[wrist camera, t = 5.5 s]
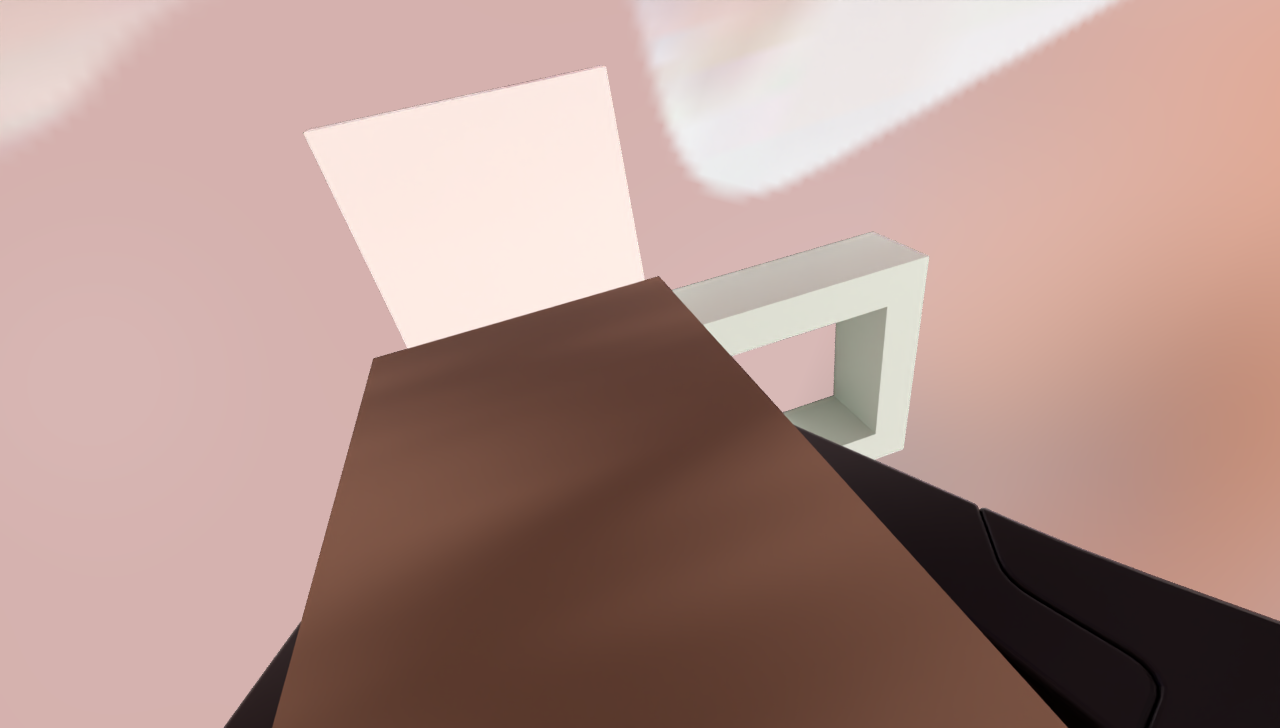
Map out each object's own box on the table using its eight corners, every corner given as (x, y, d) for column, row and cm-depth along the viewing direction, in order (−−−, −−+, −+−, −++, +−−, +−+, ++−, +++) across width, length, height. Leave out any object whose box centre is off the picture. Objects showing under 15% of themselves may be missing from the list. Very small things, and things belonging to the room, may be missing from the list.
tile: (599, 65, 15) (605, 66, 15) (645, 310, 20) (651, 319, 19) (310, 129, 14) (302, 132, 13) (427, 374, 18) (425, 387, 18)
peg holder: (872, 231, 21) (929, 255, 18) (860, 410, 26) (903, 449, 23) (655, 294, 19) (684, 330, 17) (686, 471, 24) (712, 518, 22)
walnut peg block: (658, 275, 8) (1304, 990, 2) (692, 475, 10) (1035, 1092, 4) (373, 358, 7) (-30, 1832, 1) (475, 551, 9) (510, 1409, 3)
